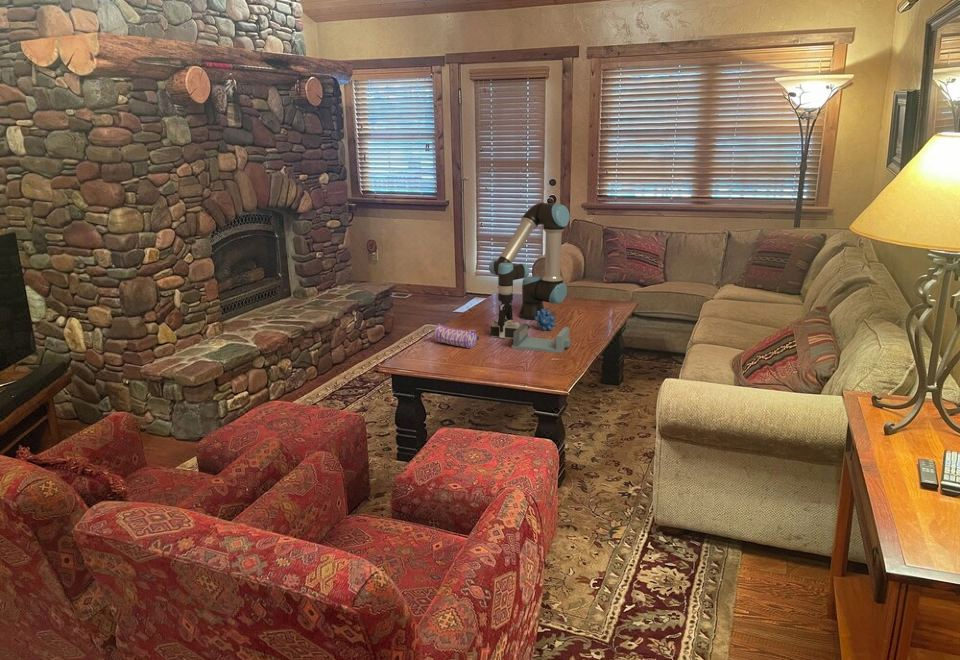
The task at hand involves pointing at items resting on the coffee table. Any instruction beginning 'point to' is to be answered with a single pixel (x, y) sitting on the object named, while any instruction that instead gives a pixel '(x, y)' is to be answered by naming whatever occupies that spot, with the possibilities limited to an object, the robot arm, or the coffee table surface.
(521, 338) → the sliding jaw
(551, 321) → the blue knobbly thick disc
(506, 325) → the camera
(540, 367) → the coffee table surface
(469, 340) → the pencil case
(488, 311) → the coffee table surface
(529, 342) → the vise
